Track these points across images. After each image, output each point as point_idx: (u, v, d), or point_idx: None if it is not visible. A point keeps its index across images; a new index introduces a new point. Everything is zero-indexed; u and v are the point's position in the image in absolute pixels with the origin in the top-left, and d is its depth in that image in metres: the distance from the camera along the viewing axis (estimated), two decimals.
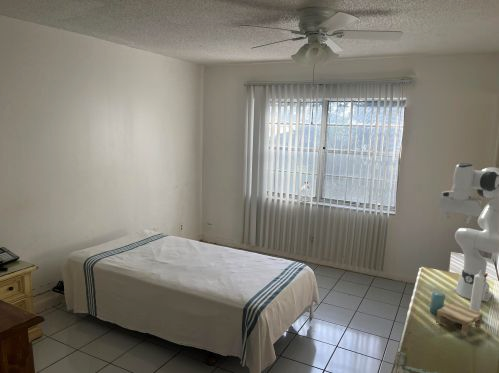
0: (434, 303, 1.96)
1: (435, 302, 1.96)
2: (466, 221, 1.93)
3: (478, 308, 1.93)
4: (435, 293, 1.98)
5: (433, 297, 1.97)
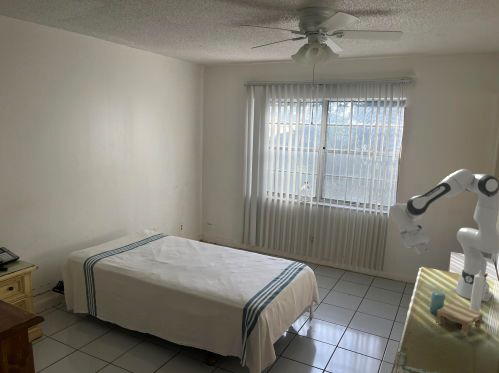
0: (434, 303, 1.96)
1: (435, 302, 1.96)
2: None
3: (478, 308, 1.93)
4: (435, 293, 1.98)
5: (433, 297, 1.97)
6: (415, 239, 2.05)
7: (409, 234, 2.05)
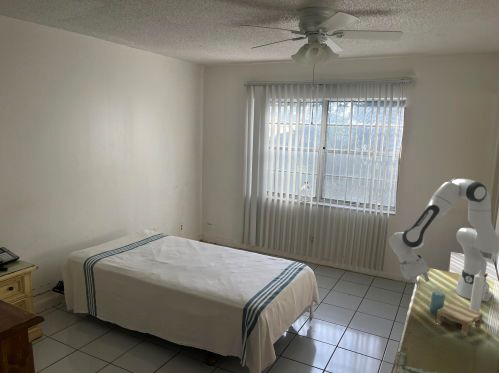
0: (434, 303, 1.96)
1: (435, 302, 1.96)
2: None
3: (478, 308, 1.93)
4: (435, 293, 1.98)
5: (433, 297, 1.97)
6: (415, 270, 2.04)
7: (409, 265, 2.04)
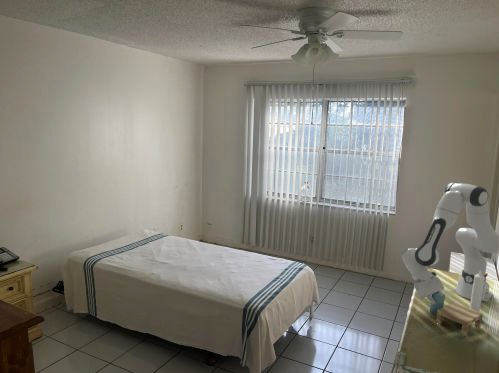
0: None
1: None
2: None
3: (478, 308, 1.93)
4: (435, 293, 1.98)
5: (433, 297, 1.97)
6: (429, 288, 1.98)
7: (423, 283, 1.98)
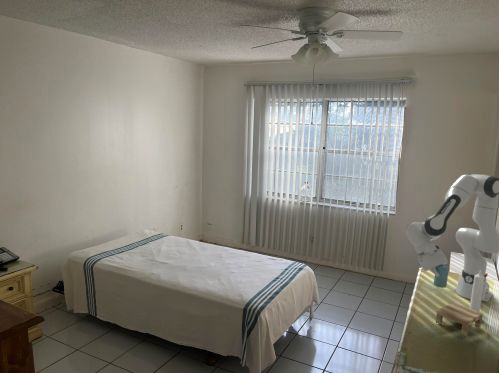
0: None
1: None
2: None
3: (478, 308, 1.93)
4: (439, 266, 1.96)
5: (437, 270, 1.94)
6: (433, 261, 1.96)
7: (427, 256, 1.96)
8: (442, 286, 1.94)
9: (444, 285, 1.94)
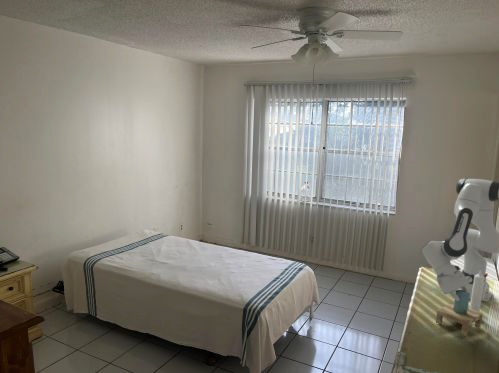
0: (458, 302, 1.83)
1: (460, 301, 1.82)
2: None
3: (478, 308, 1.93)
4: (459, 291, 1.84)
5: (457, 295, 1.83)
6: (454, 283, 1.84)
7: (447, 278, 1.84)
8: (463, 313, 1.82)
9: (465, 312, 1.82)
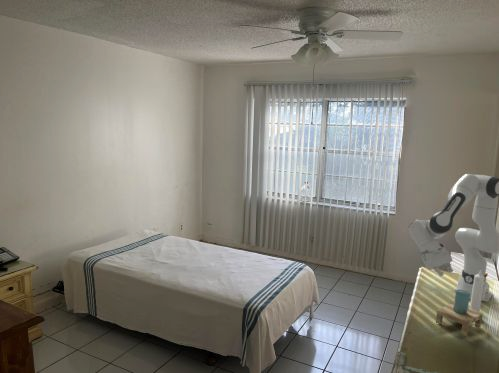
0: (458, 301, 1.83)
1: (460, 300, 1.82)
2: None
3: (478, 308, 1.93)
4: (459, 291, 1.85)
5: (457, 295, 1.83)
6: (437, 259, 1.90)
7: (431, 254, 1.90)
8: (463, 313, 1.82)
9: (465, 312, 1.82)
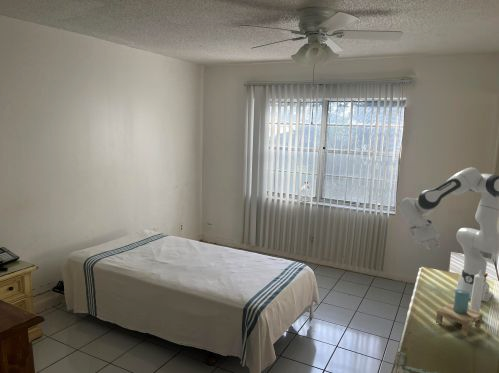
0: (457, 301, 1.83)
1: (459, 301, 1.82)
2: None
3: (478, 308, 1.93)
4: (459, 291, 1.85)
5: (456, 295, 1.83)
6: (425, 234, 1.98)
7: (419, 229, 1.99)
8: (462, 313, 1.82)
9: (465, 312, 1.82)
